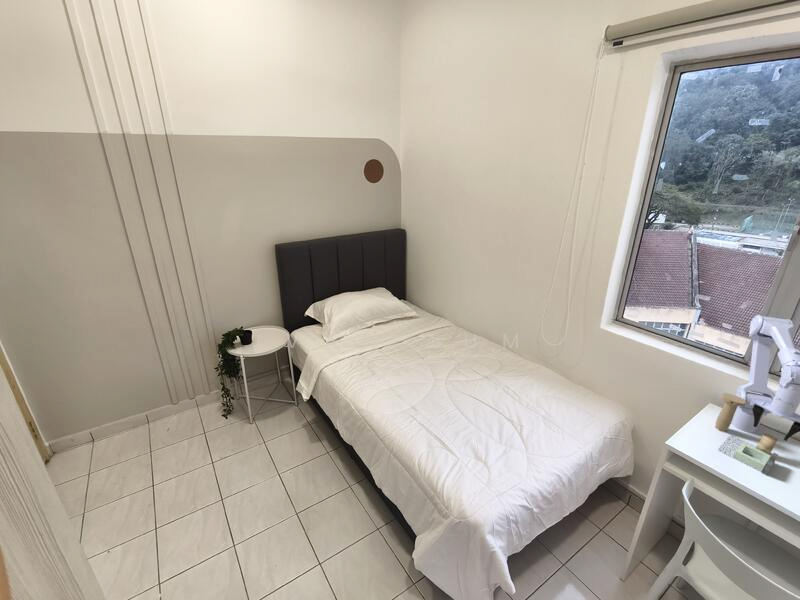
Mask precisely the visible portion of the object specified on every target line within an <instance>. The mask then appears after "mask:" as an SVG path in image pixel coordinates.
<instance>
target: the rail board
mask: <svg viewBox="0 0 800 600" xmlns="http://www.w3.org/2000/svg"><path fill="white" fill-rule="evenodd" d="M731 438H732V439H734V440H731ZM744 442H745V444H748V442H747V441H745V440H743V439H742V440H741V438H739V437H736V436H734V435H732V434H729V436H728V437H727V438H726V439H725V441H724V442H723V444H721V445H720V448H718V449H717V451H718V452H722V454H725V455H726V456H728V457H730V458H732V459H734V460H737V462H740V463H742V464H745V465H747V464H746V463H744V462H742V461H740V460H738V459H736V458H734V457H733V456H734V454H735V452H736V451H737V449H738V448H739V447H740V445H741V444H742V443H744ZM733 443H734V446H733V452H731V451H732V448H731V445H729V444H733ZM749 445H750V446H752V447H754V444H749ZM727 451H728V453H726V452H727ZM744 453H745V454H747V455H749V456H751V457H753V458H755V459H757V460H759V461H762V460H760V459H758V458H756V457H754V456H752V455H750V454H748V453H746V452H744ZM770 456H771V457H770V459H769V460H768V462H767V464H766V465H765V467H764V469H763V470H762V471H760V473H761V474H763V475H764V476H768V474H769V473H770V471H771V469H772V467H773V465H774V464H775V462H776V460H777V458H778V456H779V454H778V453H776V452H772V453H770ZM748 466H749V468H751V466H750V465H748ZM752 469H754V470H757V469H756V468H754V467H752Z"/></svg>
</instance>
